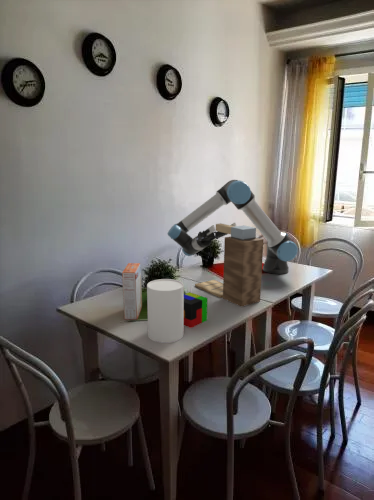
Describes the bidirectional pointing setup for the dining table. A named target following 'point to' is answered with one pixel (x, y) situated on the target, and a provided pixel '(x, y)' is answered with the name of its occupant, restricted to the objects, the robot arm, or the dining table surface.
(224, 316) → the dining table surface
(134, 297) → the cracker box
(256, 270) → the wooden block
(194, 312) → the puzzle toy
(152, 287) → the canister
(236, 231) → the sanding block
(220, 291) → the board
